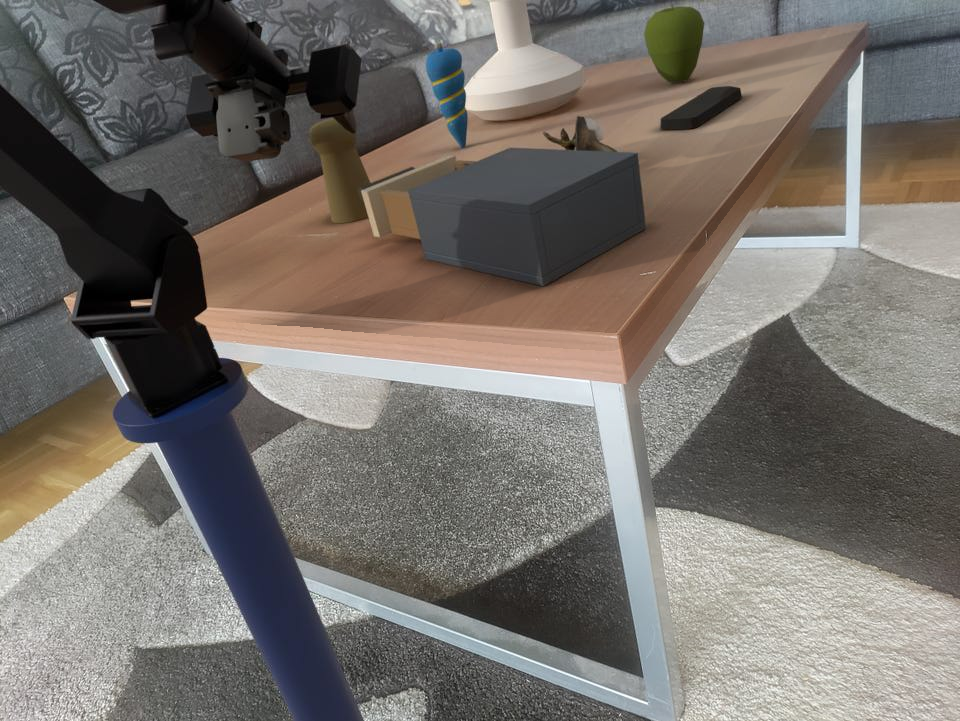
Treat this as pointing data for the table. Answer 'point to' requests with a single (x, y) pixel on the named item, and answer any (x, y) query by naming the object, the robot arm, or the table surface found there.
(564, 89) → the candle holder
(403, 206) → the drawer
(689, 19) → the apple
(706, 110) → the remote control
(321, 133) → the cork
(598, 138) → the eagle figurine
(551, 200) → the cabinet
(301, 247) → the table surface
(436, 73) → the ornament
